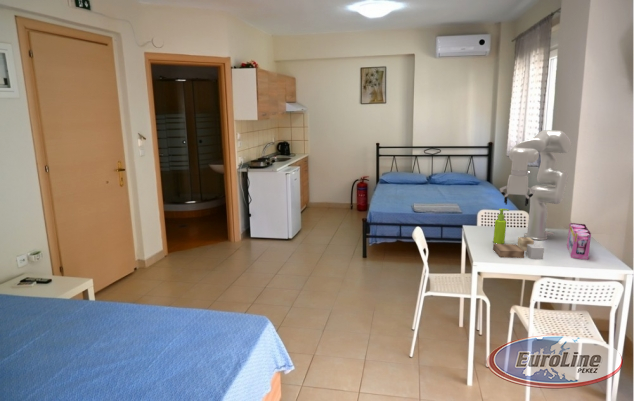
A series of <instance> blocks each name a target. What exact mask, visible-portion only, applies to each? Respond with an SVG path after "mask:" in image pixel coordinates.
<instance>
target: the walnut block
mask: <svg viewBox="0 0 634 401" xmlns="http://www.w3.org/2000/svg"><path fill="white" fill-rule="evenodd" d="M493 250H494V251H495V252H494V251H493ZM492 251H493V252H494V253H495V254H496V255H497V256H498V257H499V258H507V259H508V258H509V259H513V258H514V259H524V258H525V253H526V251H523V250H522V249H521V248H520V247H519V246H518V244H516V243H515V244H514V243H513V244H512V243H504V244H496V243H493V247H492Z"/></svg>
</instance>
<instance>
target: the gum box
mask: <svg viewBox="0 0 634 401" xmlns="http://www.w3.org/2000/svg"><path fill="white" fill-rule="evenodd" d="M591 239H592V232H591V231H590V230H589V229H588V226H587V225H586V223H575V222H569V225H568V233H567V241H566V248H567V250H568V252H569V256H570V258H572V259H579V260H580V259H581V260H586V259H587V261H588V260H589V255H590V248H591V247H590V246H591Z"/></svg>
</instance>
